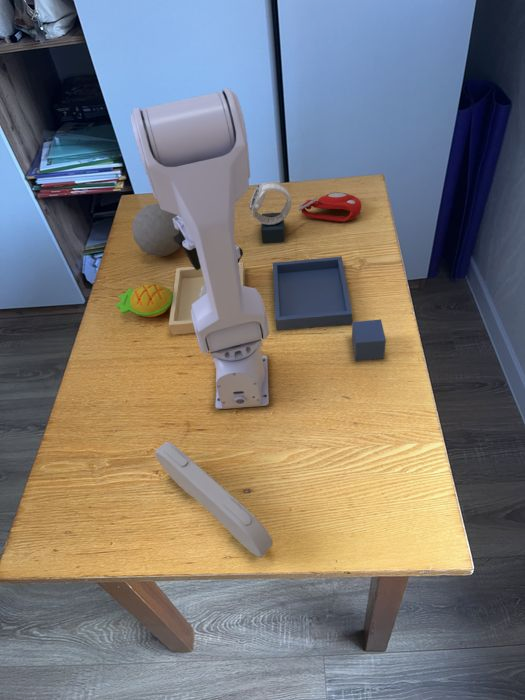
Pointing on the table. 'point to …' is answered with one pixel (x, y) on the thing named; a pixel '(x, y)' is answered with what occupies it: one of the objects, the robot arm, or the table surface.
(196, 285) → the beige tray
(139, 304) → the toy pineapple
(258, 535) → the game controller
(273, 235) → the watch
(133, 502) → the table surface
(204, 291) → the game die
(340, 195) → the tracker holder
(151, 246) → the decorative ball
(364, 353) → the blue block
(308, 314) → the blue tray
